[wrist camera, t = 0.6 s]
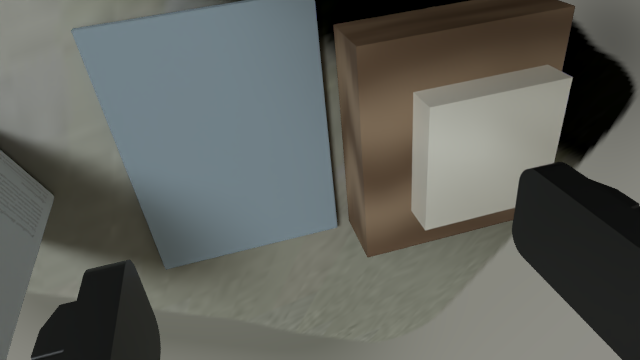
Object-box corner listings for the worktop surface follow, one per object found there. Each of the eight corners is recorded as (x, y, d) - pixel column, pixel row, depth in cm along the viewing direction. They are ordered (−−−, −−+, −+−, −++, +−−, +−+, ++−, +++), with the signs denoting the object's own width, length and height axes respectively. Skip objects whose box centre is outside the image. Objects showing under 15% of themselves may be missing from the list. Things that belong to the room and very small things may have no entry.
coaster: (413, 92, 25) (429, 107, 23) (547, 64, 26) (572, 77, 25) (411, 210, 29) (425, 230, 28) (526, 182, 31) (546, 199, 29)
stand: (333, 24, 26) (356, 46, 23) (528, -10, 28) (575, 5, 25) (349, 220, 34) (367, 257, 31) (500, 183, 36) (532, 214, 33)
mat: (72, 28, 23) (71, 31, 23) (312, -11, 25) (313, -9, 24) (165, 265, 32) (165, 269, 32) (335, 223, 34) (337, 227, 33)
